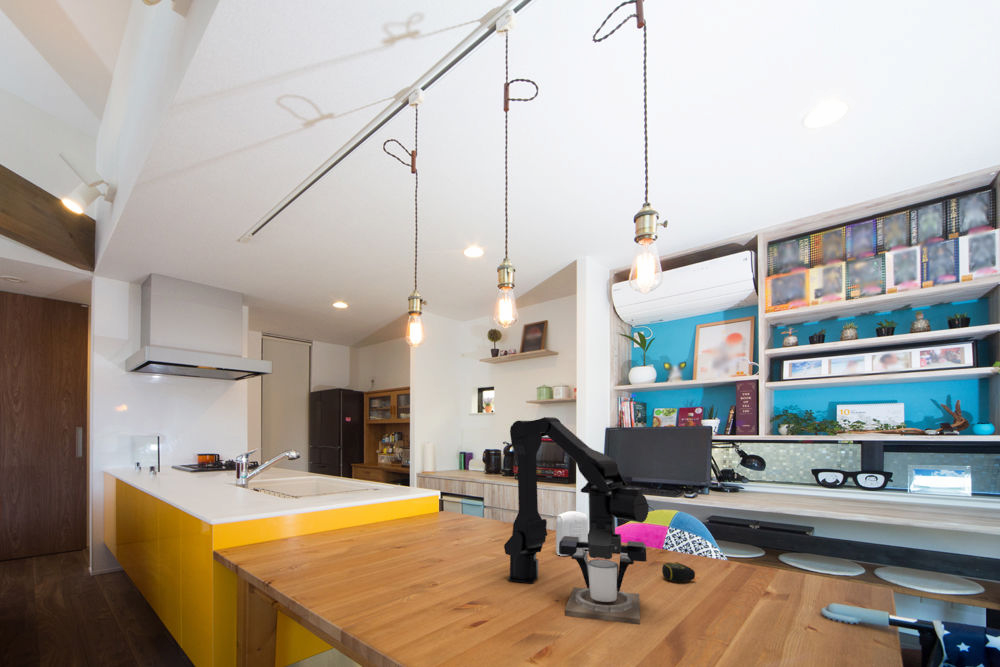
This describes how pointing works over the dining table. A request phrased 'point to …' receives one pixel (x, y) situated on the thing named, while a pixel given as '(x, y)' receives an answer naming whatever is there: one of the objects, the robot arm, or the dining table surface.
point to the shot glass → (603, 580)
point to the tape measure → (677, 572)
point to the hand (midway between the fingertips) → (603, 589)
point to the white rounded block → (571, 527)
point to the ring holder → (604, 607)
